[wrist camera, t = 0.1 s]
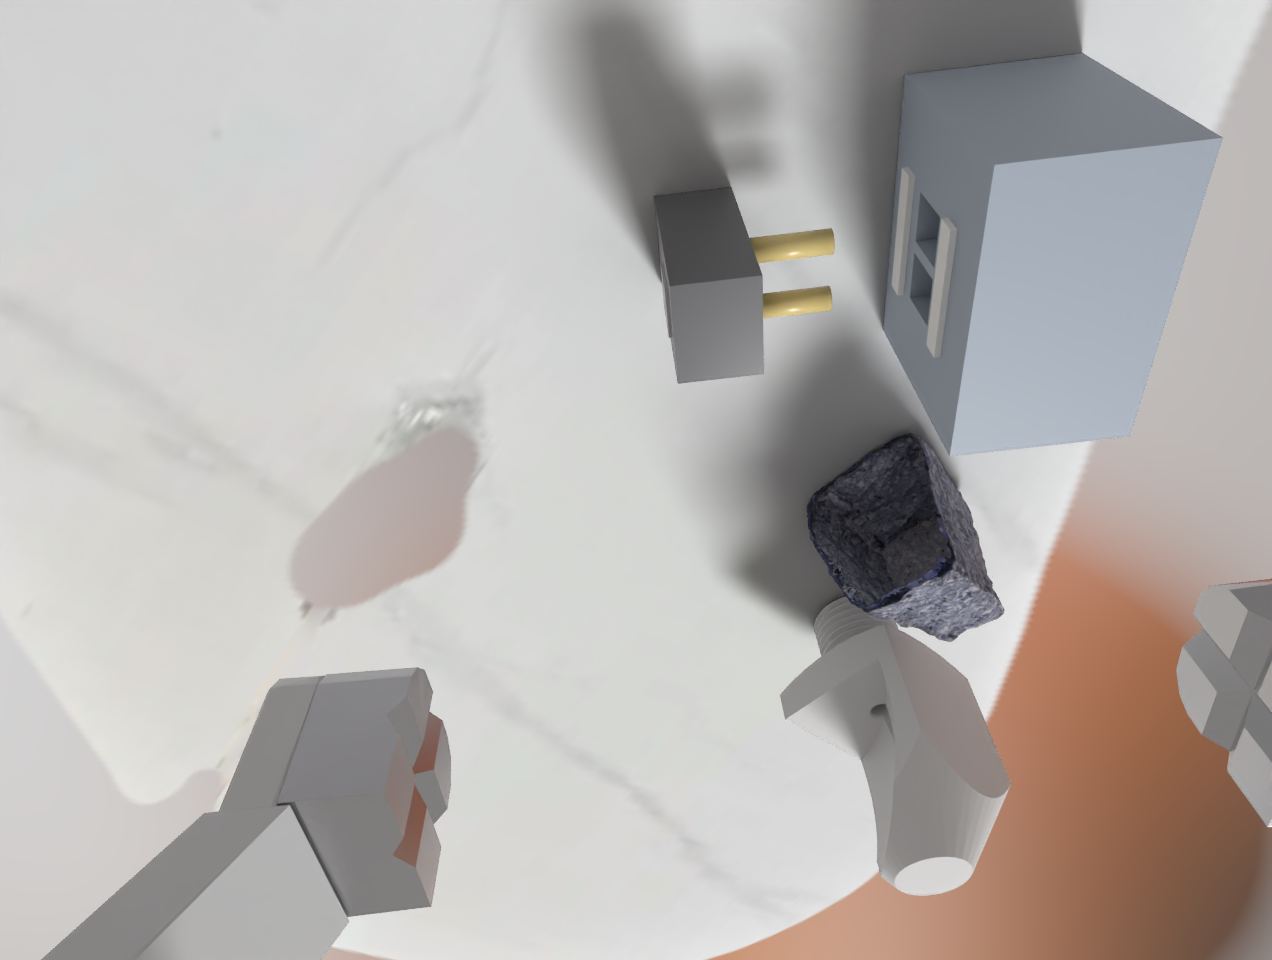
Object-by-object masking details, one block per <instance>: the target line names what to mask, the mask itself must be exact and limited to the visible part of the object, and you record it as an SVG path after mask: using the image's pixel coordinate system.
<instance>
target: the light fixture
mask: <svg viewBox="0 0 1272 960" xmlns="http://www.w3.org/2000/svg"><path fill="white" fill-rule="evenodd" d="M814 630H815V634H816V638H817V641H818V646H819V649H820V653H821V657H820V658H819V659H818V660H816V661H815V662H814V663H813V664H811V665H810V666H809V667H808V668H806V669H805V670H804V671H803V672H802V673H801V674H800V675H799V676H798V677H796V678H795V679H794V680H793V681H792V682H791V683H790V684H789V686H788V687H787V688H786V689H785V690H784V691H783V692H782V693H781V695H780V697H781V702H782V706H783V711H784V716H785V720H787V721H789V722H791V723H793V724H795V725H797V726H798V727H800V728H802V729H804V730H806V731H808V732H810V733H811V734H813V735H815V736H817V737H819V738H821V739H823V740H824V741H826V742H828V743H830V744H832V745H834V746H835V747H837V748H839V749H841V750H843V751H845V752H847V753H848V754H850V755H852V756H854V757H856V758H858V759H860V760H861V761H862V764H863V767H864V770H865V774H866V777H867V781H868V784H869V788H870V793H871V797H872V802H873V807H874V813H875V820H876V829H877V863H878V867H879V871H880V876H881V877H882V878H883V879H885V880H886V881H888V882H889V883H890V884H892V885H893V886H894V887H896V888H897V889H899V890H900V891H902V892H904V893H907V894H911V895H933V894H939V893H943V892H947V891H950V890H952V889H955V888H957V887H958V886H960V885H962V884H963V883H965V882H966V881H967V880H968V879H969V878H970V877H971V875H972V873H973V871H974V869H975V866H976V864H977V862H978V859H979V857H980V854H981V852H982V850H983V848H984V845H985V843H986V840H987V839H988V836H989V834H990V832H991V829H992V827H993V825H994V822H995V820H996V818H997V815H998V813H999V811H1000V808H1001V806H1002V804H1003V801H1004V799H1005V797H1006V794H1007V792H1008V790H1009V788H1010V785H1011V782H1010V780H1009V777H1008V775H1007V773H1006V770H1005V768H1004V765H1003V763H1002V761H1001V759H1000V756H999V753H998V751H997V749H996V746H995V744H994V742H993V739H992V737H991V735H990V732H989V730H988V727H987V725H986V722H985V720H984V718H983V715H982V713H981V710H980V708H979V706H978V703H977V701H976V699H975V696H974V694H973V691H972V689H971V687H970V684H969V682H968V679H967V678H966V677H964V676H963V675H962V674H961V673H960V672H959V671H958V670H957V669H956V668H955V667H953V666H952V665H951V664H950V663H948V662H947V661H946V660H945V659H944V658H942V657H941V656H940V655H938V654H937V653H936V652H934V651H933V650H931V649H930V648H929V647H927V646H926V645H924V644H923V643H921V642H920V641H918V640H916V639H915V638H913V637H911V636H910V635H908V634H906V633H904V632H902V631H900V630H898V627H897V624H896V621H895V620H880V619H877V618H874V617H871V616H868V615H867V614H866V613H865V612H864V611H863V610H862V609H861V608H858V607H857V606H856V605H853V604H851V603H850V601H849V600H848V598H847V597H846V596H845V597H842V598H840V599H837V600H835V601H833V602H832V603H830V604H829V605H827V606H826V607H825V608H824V609H823V610H822V611H821V612H820V613H819V615H818V616H817V618H816V620H815V624H814Z"/></svg>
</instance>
